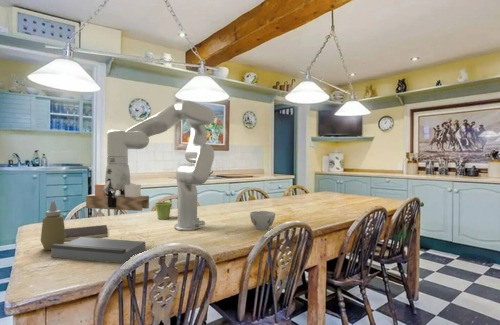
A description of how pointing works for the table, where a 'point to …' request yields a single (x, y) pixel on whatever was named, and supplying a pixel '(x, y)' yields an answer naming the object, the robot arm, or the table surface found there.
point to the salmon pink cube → (99, 189)
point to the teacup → (262, 219)
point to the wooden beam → (118, 202)
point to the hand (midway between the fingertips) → (117, 205)
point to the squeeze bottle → (52, 228)
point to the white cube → (132, 190)
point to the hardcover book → (86, 232)
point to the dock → (98, 249)
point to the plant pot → (163, 209)
